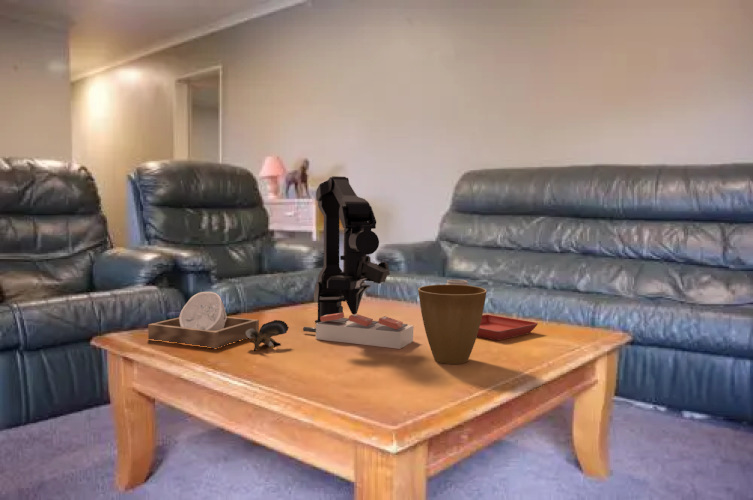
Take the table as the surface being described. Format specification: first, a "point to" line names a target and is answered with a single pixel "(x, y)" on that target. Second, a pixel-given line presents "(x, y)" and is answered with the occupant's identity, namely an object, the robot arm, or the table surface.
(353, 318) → the rocker
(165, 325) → the wooden tray
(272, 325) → the eagle figurine
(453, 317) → the plant pot
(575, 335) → the table surface
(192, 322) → the grey flat disc
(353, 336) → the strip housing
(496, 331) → the plant saucer
